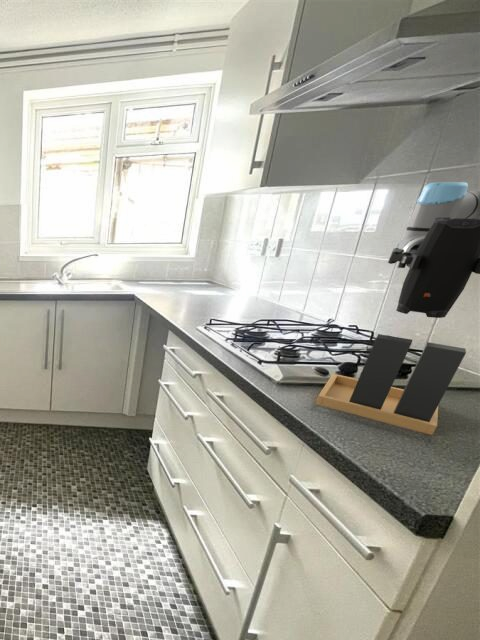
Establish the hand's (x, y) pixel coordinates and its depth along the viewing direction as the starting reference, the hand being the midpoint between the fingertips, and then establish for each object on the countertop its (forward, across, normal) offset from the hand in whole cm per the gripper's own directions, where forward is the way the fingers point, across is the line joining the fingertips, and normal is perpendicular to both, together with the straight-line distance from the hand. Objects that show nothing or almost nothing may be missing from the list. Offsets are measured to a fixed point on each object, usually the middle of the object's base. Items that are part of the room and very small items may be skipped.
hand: (448, 264), depth 83 cm
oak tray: (+8, +3, -30) cm, 31 cm away
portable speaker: (-5, 0, -11) cm, 12 cm away
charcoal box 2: (+15, -2, -29) cm, 33 cm away
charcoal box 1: (+14, +5, -29) cm, 32 cm away
